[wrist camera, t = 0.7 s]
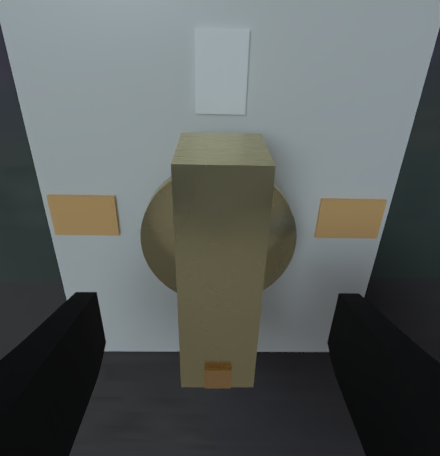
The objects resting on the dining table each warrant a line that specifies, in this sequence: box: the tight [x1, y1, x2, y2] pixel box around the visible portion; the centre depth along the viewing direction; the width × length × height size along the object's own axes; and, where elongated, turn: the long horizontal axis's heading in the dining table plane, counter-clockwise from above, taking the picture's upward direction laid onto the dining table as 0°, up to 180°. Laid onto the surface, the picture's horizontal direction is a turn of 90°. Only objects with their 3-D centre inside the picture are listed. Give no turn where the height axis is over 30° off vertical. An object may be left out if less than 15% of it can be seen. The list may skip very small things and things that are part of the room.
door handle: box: [140, 132, 297, 388], centre depth 13 cm, size 6×9×4 cm
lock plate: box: [0, 0, 440, 352], centre depth 17 cm, size 16×18×2 cm
